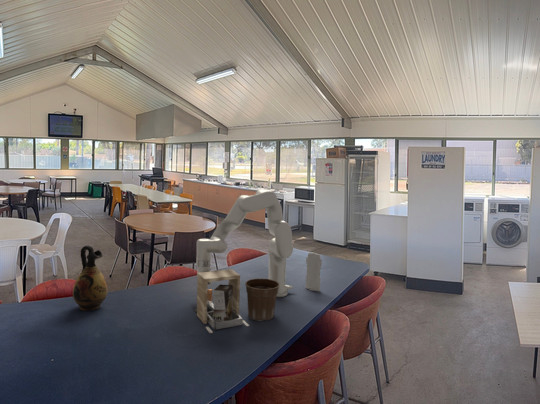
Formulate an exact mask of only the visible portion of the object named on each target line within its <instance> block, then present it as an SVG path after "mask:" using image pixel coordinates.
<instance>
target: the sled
mask: <svg viewBox="0 0 540 404" xmlns="http://www.w3.org/2000/svg"><path fill="white" fill-rule="evenodd" d="M213 306H214V302H213V289H209V288H208V289H207V307H209V308H210V309H211V310H209V311H207V323H208V324H209V325H210V326H211V328H212V329H213V330H215V331H217V330H223V329H226V328H232V327H238V326H242V325H243V324H244V323H243V317H242V316H241V315H240V314H239V315H238V314H237V313H236V312H235V311H234V310H233V309H232V319H231V320H225V321H220V322H215V321H214V320H213Z"/></svg>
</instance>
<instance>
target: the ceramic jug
mask: <svg viewBox="0 0 540 404" xmlns="http://www.w3.org/2000/svg"><path fill="white" fill-rule="evenodd" d="M87 252H88V254H86V253H87ZM101 258H103V253H102V252H101V250H100V249H98V250H94V248H93V246H91V245H89V244H87V245H84V246H82V248H80V260H81V264H82V266H81V267H82V269H81V272H80V273H79V275H78V277H77V278H76V280H75V282H74V285H73V289H72V298H73V300H74V301H75V303H76V304H77V306H78V308H79V310H82V311H85V312H87V311H88V312H89V311H94V310H98V309H99V308H100V307H101V304H102V303H103V302H104V301H105V300H106V298H107V295H108V284H107V281H106V278H105V276H104V275H103V274H102V272H101V270H100V269H99V268H98V267H97V265H96V260H98V259H101ZM74 305H75V304H74Z"/></svg>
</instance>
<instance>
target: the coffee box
mask: <svg viewBox="0 0 540 404" xmlns="http://www.w3.org/2000/svg"><path fill="white" fill-rule="evenodd" d="M232 297H233V285H229V284H222V283H221V284H219V285H218V286H216V288H214V289H213V304H214V306H213V318H212V319H213V320H214V321H215V322H220V321H225V320H231V319H233V317H232Z"/></svg>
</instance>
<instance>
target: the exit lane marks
mask: <svg viewBox="0 0 540 404" xmlns="http://www.w3.org/2000/svg"><path fill="white" fill-rule="evenodd" d="M242 324H243V325H245V326H246V327H250V324H249V323H247V322H246V320H243V323H242ZM205 329H206V330H207V331H208V333H209V334H213V330H212V329H211V328H210V327H209V326H205Z"/></svg>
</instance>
